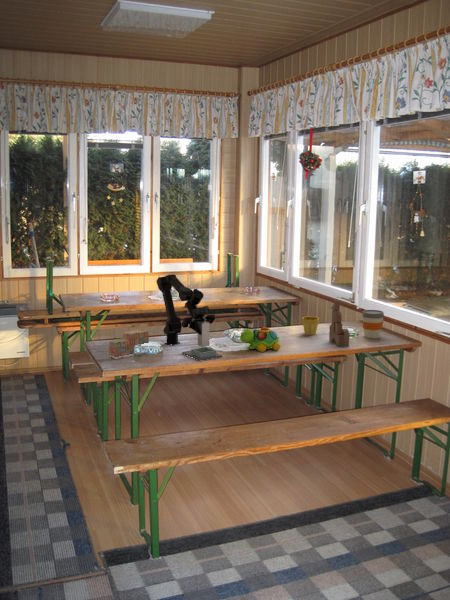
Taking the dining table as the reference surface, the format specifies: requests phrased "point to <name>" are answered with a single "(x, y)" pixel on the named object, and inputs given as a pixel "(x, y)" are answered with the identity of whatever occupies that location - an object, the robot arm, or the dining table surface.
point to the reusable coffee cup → (372, 323)
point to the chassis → (202, 353)
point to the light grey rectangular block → (203, 334)
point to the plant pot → (310, 324)
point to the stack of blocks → (128, 342)
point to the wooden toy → (338, 327)
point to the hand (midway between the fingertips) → (204, 333)
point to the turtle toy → (261, 339)
